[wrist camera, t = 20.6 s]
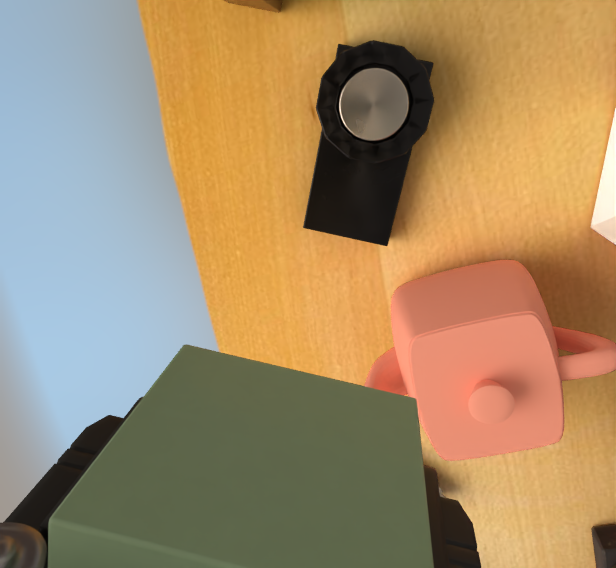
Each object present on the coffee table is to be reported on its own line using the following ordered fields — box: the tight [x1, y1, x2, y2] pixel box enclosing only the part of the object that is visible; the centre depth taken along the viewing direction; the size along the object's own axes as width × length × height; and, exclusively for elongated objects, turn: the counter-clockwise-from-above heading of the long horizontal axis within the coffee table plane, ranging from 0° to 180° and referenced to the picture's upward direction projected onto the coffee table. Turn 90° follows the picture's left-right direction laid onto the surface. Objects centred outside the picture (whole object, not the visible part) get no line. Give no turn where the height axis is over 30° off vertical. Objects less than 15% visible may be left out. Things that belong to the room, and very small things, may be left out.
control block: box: [303, 40, 434, 246], centre depth 35 cm, size 12×7×4 cm, turn 169°
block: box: [48, 345, 434, 568], centre depth 9 cm, size 5×5×5 cm
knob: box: [339, 68, 409, 141], centre depth 32 cm, size 4×4×2 cm
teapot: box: [365, 260, 616, 461], centre depth 36 cm, size 12×18×10 cm, turn 107°
